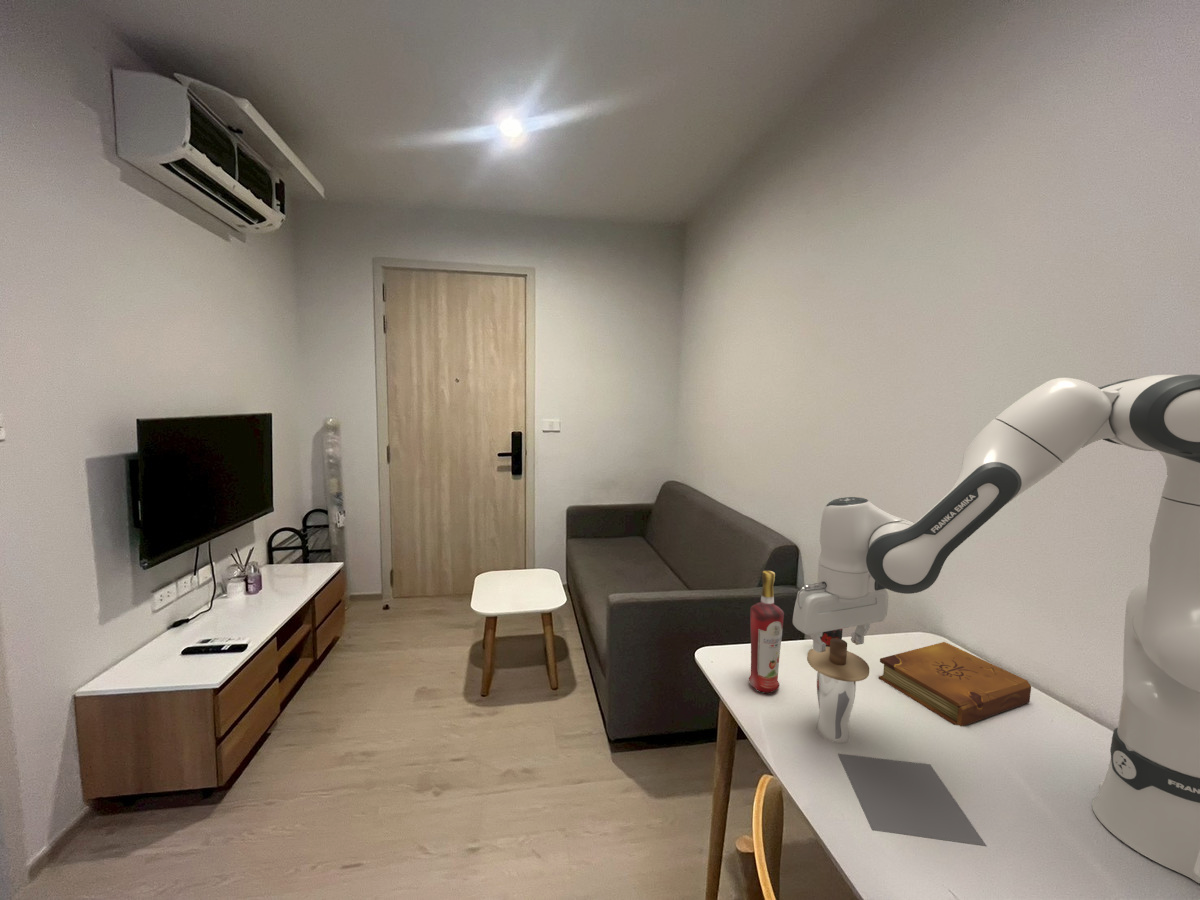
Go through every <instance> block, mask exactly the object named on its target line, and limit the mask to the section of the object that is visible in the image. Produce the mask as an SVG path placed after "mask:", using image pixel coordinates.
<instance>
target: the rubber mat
mask: <svg viewBox="0 0 1200 900" xmlns="http://www.w3.org/2000/svg"><path fill="white" fill-rule="evenodd" d="M837 755H838V757H839V760H840V762H841V764H842V767H843V769H844V771H845V773H846V775H847V778H848V780H849V783H850V784H851V786H852V788H853V791H854V793H855V796H856V798H857V800H858V801H859V804H860V806H861V809H862V811H863V813H864V815H865V817H866V819H867V822H868V824H869V827H870V828H871V831H876V832H882V833H888V834H889V833H891V834H896V835H904V836H905V835H906V836H910V837H911V836H912V837H919V838H925V839H933V840H939V841H947V842H954V843H961V844H966V845H967V844H968V845H975V846H980V847H981V846H982V847H987V844H986V843H985V841H984V840H983V838H982V837H981V836H980V834H979V833H978V831H977V829H976V828H975V827H974V825H973V824H972V822H971V821H970V819H969V817H967V815H966V814H965V812H964V811H963V810H962V808H961V807H960V805H959V803H958V802H957V801H956V799H955V798H954V797H953V794H951V792H950V790H949V789H948V787H946V785H945V783H944V782H943V781H942V779H941V778H940V776H939V775H938V773H937V772H936V771H935V769H934V767H933V766H932V764H930V763H924V762H923V763H921V762H914V761H905V760H897V759H888V758H877V757H872V756H871V757H870V756H863V755H856V754H855V755H853V754H846V753H837Z"/></svg>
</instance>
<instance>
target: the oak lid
mask: <svg viewBox="0 0 1200 900" xmlns="http://www.w3.org/2000/svg"><path fill="white" fill-rule="evenodd" d="M825 649H826V651H824V652H819V653H818V652H817V651H815V650H814V649H813V648H811V649H810V650H809V651H808V652H807V655H806V656H807V657H806V660H807V663H808V664H809V665H810V667H811V668H812V669H814V670H815V671H816V672H819V673H821V674H823V675H825V676H827V677H830V678H833V679H836V680H841V681H848V682H856V683H857V682H861V681H864V680H866V679H867V678H868V677H869V675H870V666H869V664H868V663H867V661H866V660H864V659H863V658H862V657H860V656H859V655H857V654H855V653H854V652H851V651H849V650H848V642H847V641H845V640H844V639H843V638H842V639H838V638H832V639H831V640H830V647H826V648H825Z"/></svg>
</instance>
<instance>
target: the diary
mask: <svg viewBox="0 0 1200 900" xmlns="http://www.w3.org/2000/svg"><path fill="white" fill-rule="evenodd" d="M879 663H880V664H883V671H882V673H883V674H882V675H879V676H878V679H879V680H881V681H882V682H884V683H885V684H887V685H889V686H890V687H892V688H894V689H895V690H897V691H899V693H901V694H903V695H905V696H906V697H908V698H909V699H911V700H913V701H914V702H916V703H918V704H920V705H921V706H923V707H924V708H926V709H927V710H929V711H931V712H932V713H934V714H936V715H937V716H938V717H941V718H942V719H944V720H945V721H947V722H948V723H950V724H952V725H954V726H960V727H965V726H967V725H970V724H973V723H975V722H978V721H981V720H984V719H986V718H989V717H992V716H995V715H997V714H1000V713H1003V712H1007V711H1009V710H1011V709H1014V708H1017V707H1020V706H1024V705H1026V704H1029V703H1030V702H1031V692H1032V685H1031V684H1030V682H1029V681H1028V680H1027V679H1025V678H1022V677H1021V676H1018V675H1016V674H1014V673H1012V672H1010V671H1008V670H1006V669H1003V668H1001V667H999V666H997V665H995V664H992V662H988V661H986V660H985V659H982V658H980V657H979V656H976V655H974V654H972V653H970V652H967V651H965V650H963V649H961V648H959V647H956V646H955V645H952V644H950V643H948V642H946V641H943V642H938V643H934V644H931V645H926V646H923V647H919V648H915V649H911V650H908V651H907V650H906V651H903V652H900V653H896V654H892V655H888V656H885V657H881V658H880V659H879Z"/></svg>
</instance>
